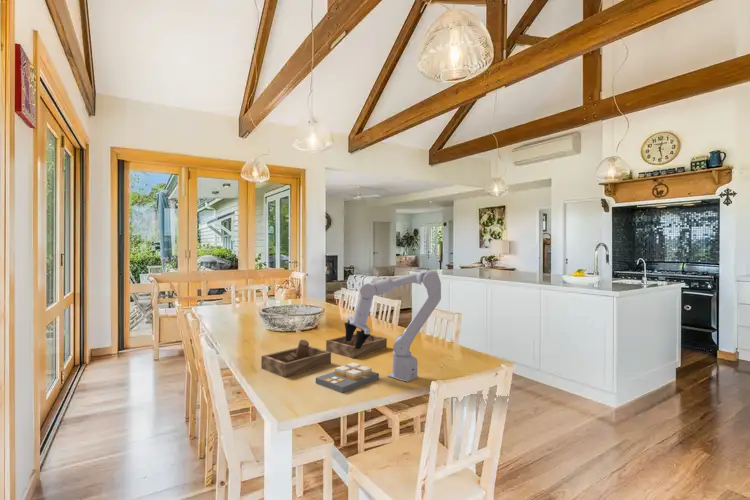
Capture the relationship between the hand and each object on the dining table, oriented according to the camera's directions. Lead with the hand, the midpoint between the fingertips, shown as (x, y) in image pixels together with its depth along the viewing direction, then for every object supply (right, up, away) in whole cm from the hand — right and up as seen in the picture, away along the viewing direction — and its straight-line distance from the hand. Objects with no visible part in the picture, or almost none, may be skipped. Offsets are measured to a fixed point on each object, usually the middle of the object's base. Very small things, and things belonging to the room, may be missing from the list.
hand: (352, 344), depth 160 cm
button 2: (+1, -10, -10) cm, 15 cm away
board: (-1, -12, -8) cm, 14 cm away
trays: (-12, -11, +21) cm, 26 cm away
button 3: (0, -10, -2) cm, 10 cm away
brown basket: (+2, -11, +35) cm, 37 cm away
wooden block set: (-23, -11, +7) cm, 27 cm away
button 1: (+5, -10, -6) cm, 13 cm away
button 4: (-4, -10, -6) cm, 12 cm away
